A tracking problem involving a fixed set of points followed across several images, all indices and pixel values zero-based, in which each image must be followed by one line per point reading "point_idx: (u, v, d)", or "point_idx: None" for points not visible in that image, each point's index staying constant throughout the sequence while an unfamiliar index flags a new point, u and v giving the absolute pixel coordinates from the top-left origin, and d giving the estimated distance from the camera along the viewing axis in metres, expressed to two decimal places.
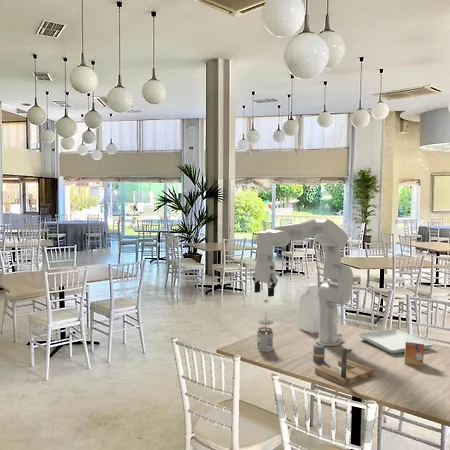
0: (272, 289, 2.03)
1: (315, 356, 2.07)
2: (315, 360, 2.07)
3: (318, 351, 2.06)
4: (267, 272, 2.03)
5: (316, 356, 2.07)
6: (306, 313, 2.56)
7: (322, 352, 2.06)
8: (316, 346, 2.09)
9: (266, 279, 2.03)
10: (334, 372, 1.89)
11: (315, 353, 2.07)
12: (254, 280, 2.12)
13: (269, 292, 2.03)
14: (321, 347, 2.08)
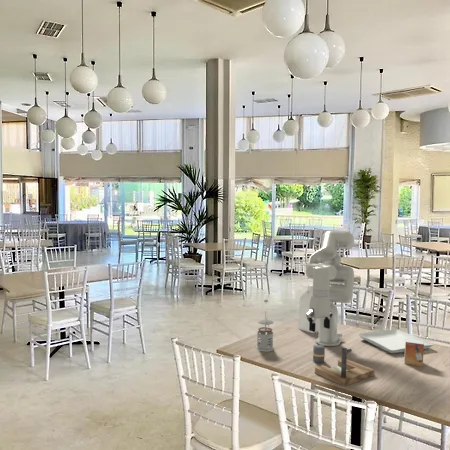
0: None
1: (315, 356, 2.07)
2: (315, 360, 2.07)
3: (318, 351, 2.06)
4: (329, 305, 2.08)
5: (316, 356, 2.07)
6: None
7: (322, 352, 2.06)
8: (316, 346, 2.09)
9: (329, 312, 2.08)
10: (334, 372, 1.89)
11: (315, 353, 2.07)
12: (311, 319, 2.03)
13: None
14: (321, 347, 2.08)
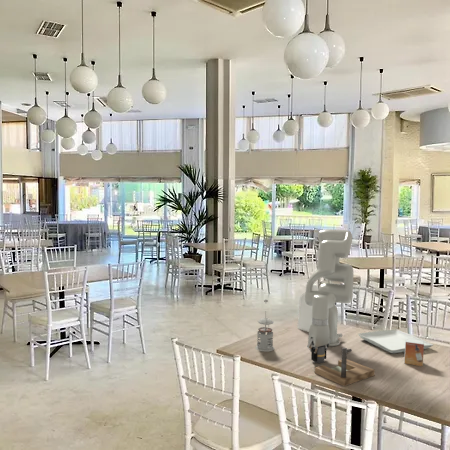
0: None
1: None
2: None
3: (318, 351, 2.06)
4: (329, 333, 2.09)
5: None
6: (306, 313, 2.56)
7: (322, 352, 2.06)
8: None
9: (328, 340, 2.09)
10: (334, 372, 1.89)
11: None
12: (313, 349, 2.05)
13: None
14: (321, 347, 2.07)
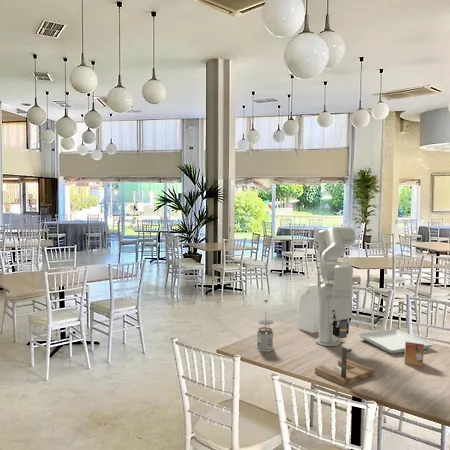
0: None
1: None
2: None
3: (340, 325, 1.93)
4: (351, 306, 1.95)
5: None
6: (306, 313, 2.56)
7: (344, 326, 1.93)
8: None
9: (350, 314, 1.95)
10: (334, 372, 1.89)
11: None
12: (335, 323, 1.92)
13: None
14: (343, 321, 1.94)
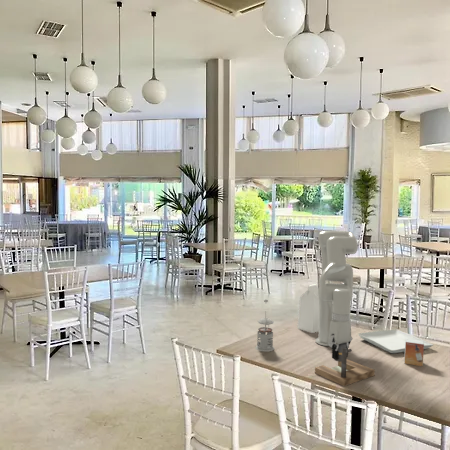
0: None
1: None
2: None
3: (339, 349, 1.93)
4: (350, 330, 1.96)
5: None
6: (306, 313, 2.56)
7: None
8: None
9: (350, 337, 1.96)
10: (334, 372, 1.89)
11: None
12: None
13: None
14: (342, 344, 1.94)
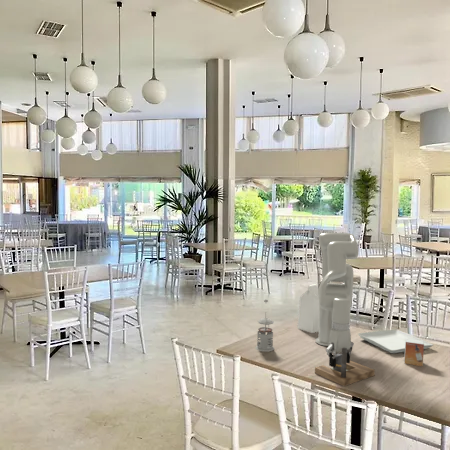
0: None
1: None
2: None
3: (338, 361, 1.94)
4: (350, 338, 1.96)
5: (337, 366, 1.94)
6: (306, 313, 2.56)
7: None
8: (336, 355, 1.96)
9: (349, 346, 1.96)
10: (334, 372, 1.89)
11: None
12: (332, 355, 1.92)
13: None
14: None
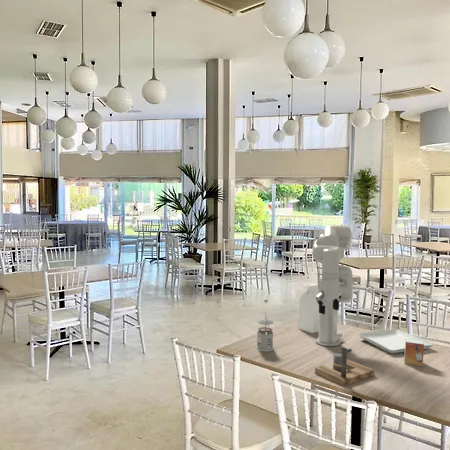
0: None
1: (335, 366, 1.95)
2: None
3: (338, 361, 1.94)
4: (339, 287, 2.07)
5: (337, 366, 1.94)
6: (306, 313, 2.56)
7: None
8: (336, 355, 1.96)
9: (338, 294, 2.07)
10: (334, 372, 1.89)
11: (335, 363, 1.95)
12: (321, 302, 2.02)
13: None
14: None
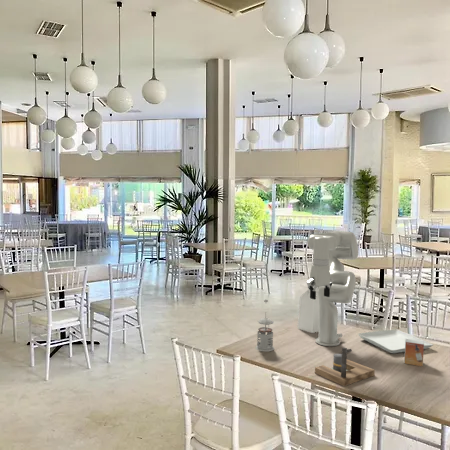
0: None
1: (335, 366, 1.95)
2: None
3: (338, 361, 1.94)
4: (329, 274, 2.16)
5: (337, 366, 1.94)
6: (306, 313, 2.56)
7: None
8: (336, 355, 1.96)
9: (329, 281, 2.16)
10: (334, 372, 1.89)
11: (335, 363, 1.95)
12: (312, 288, 2.11)
13: None
14: None
